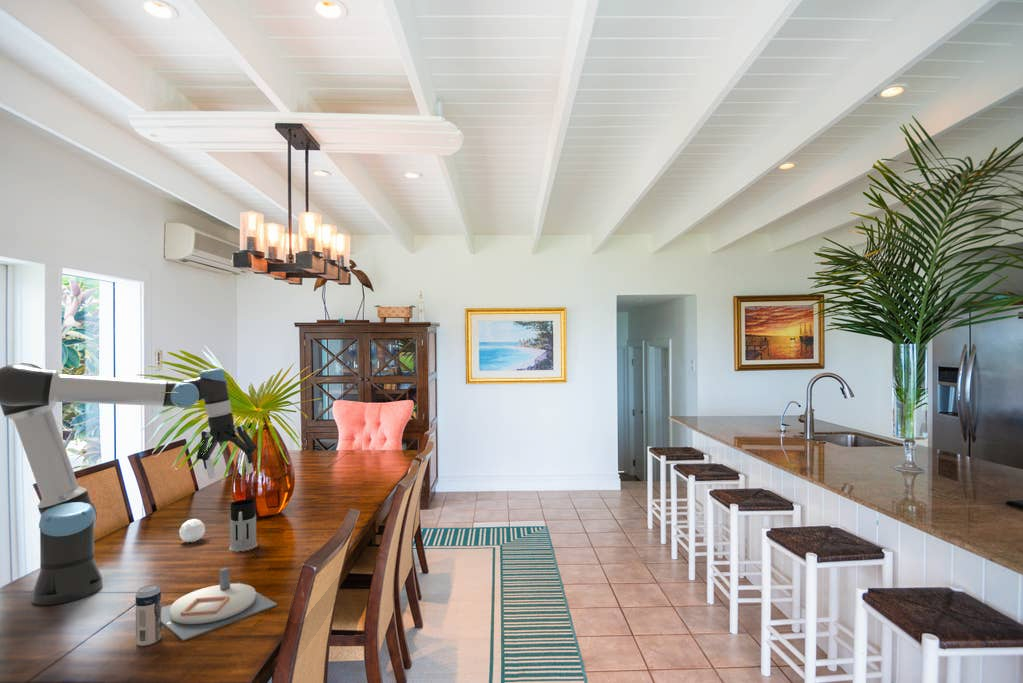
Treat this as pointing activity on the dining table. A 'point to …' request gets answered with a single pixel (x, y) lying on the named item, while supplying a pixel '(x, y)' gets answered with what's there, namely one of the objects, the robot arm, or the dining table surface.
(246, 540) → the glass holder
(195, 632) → the plate
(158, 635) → the blue and white canister
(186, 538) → the geometric ball
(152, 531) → the dining table surface
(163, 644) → the dining table surface
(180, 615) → the turntable
